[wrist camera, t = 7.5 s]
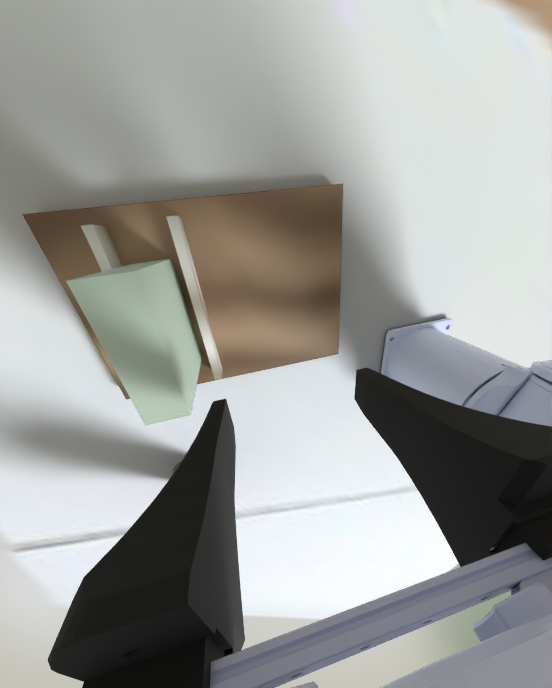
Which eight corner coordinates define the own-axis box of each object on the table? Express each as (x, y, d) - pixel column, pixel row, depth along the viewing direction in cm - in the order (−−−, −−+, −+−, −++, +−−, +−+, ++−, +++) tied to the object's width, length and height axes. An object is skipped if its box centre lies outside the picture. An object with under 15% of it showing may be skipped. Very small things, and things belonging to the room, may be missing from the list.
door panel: (202, 356, 19) (190, 414, 12) (172, 362, 18) (145, 425, 12) (171, 258, 15) (133, 271, 9) (133, 263, 15) (65, 280, 8)
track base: (332, 348, 23) (345, 361, 20) (131, 390, 20) (119, 411, 17) (335, 187, 16) (354, 178, 14) (38, 216, 13) (-2, 211, 11)
